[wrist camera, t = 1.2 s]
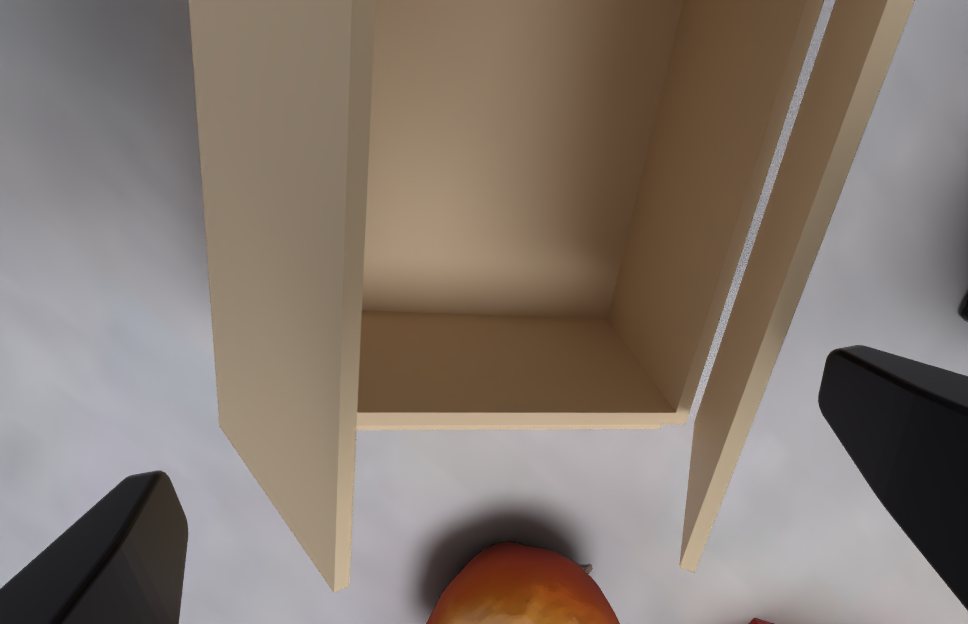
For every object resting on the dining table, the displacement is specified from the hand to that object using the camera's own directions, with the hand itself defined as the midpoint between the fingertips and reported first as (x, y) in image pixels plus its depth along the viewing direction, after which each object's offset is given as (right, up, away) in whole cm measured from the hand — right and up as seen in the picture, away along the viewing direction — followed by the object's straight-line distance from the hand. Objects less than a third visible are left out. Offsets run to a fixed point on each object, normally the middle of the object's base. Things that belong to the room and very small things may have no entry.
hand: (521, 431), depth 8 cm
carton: (-1, +8, +10) cm, 13 cm away
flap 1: (-4, +4, +2) cm, 6 cm away
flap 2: (+5, +3, +4) cm, 7 cm away
